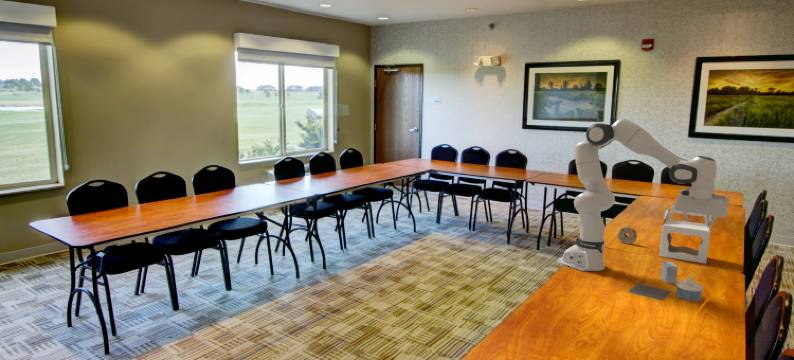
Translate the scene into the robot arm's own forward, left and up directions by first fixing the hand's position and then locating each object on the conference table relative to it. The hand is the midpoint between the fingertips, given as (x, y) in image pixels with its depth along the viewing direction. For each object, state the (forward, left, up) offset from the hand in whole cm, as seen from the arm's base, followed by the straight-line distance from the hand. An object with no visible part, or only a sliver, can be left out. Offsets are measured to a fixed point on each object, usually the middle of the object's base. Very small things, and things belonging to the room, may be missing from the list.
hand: (698, 223), depth 228 cm
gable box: (-14, +45, -29) cm, 56 cm away
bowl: (+3, -19, -29) cm, 35 cm away
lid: (+3, -19, -24) cm, 31 cm away
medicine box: (-9, -3, -29) cm, 31 cm away
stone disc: (-45, +50, -29) cm, 73 cm away
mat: (-11, -24, -29) cm, 39 cm away
